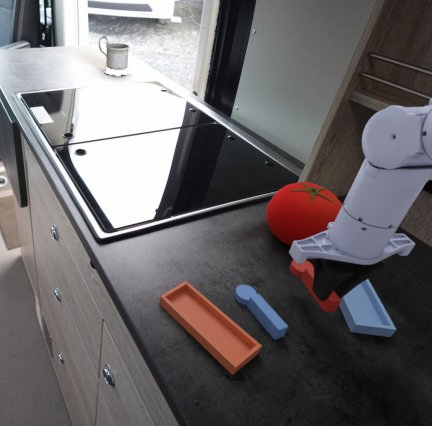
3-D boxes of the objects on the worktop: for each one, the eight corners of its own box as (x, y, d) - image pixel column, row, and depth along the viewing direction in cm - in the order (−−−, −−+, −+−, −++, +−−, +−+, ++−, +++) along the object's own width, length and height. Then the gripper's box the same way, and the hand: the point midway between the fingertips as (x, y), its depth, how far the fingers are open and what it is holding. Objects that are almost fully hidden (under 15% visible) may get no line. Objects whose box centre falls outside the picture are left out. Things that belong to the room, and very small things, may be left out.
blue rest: (390, 337, 51) (396, 329, 50) (350, 332, 51) (355, 324, 50) (353, 267, 62) (357, 259, 60) (320, 263, 62) (324, 256, 61)
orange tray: (258, 353, 48) (262, 345, 47) (232, 375, 46) (235, 367, 45) (184, 288, 57) (186, 280, 56) (158, 303, 54) (160, 296, 53)
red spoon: (340, 310, 49) (347, 300, 48) (319, 312, 49) (325, 301, 48) (304, 263, 56) (309, 252, 55) (285, 264, 56) (290, 253, 55)
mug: (134, 72, 144) (136, 39, 137) (117, 78, 139) (119, 43, 131) (107, 65, 152) (107, 32, 145) (90, 69, 146) (89, 36, 139)
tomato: (276, 210, 74) (293, 163, 67) (341, 240, 67) (366, 191, 61) (248, 235, 67) (263, 186, 61) (316, 271, 61) (341, 220, 54)
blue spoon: (287, 335, 51) (293, 325, 49) (270, 341, 50) (274, 331, 48) (246, 287, 57) (249, 277, 56) (230, 292, 56) (233, 282, 55)
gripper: (403, 190, 46) (356, 268, 54) (292, 195, 44) (261, 276, 52) (451, 225, 40) (391, 307, 48) (326, 233, 38) (286, 317, 47)
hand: (326, 294), depth 50 cm, fingers closed on red spoon, 1 cm apart
